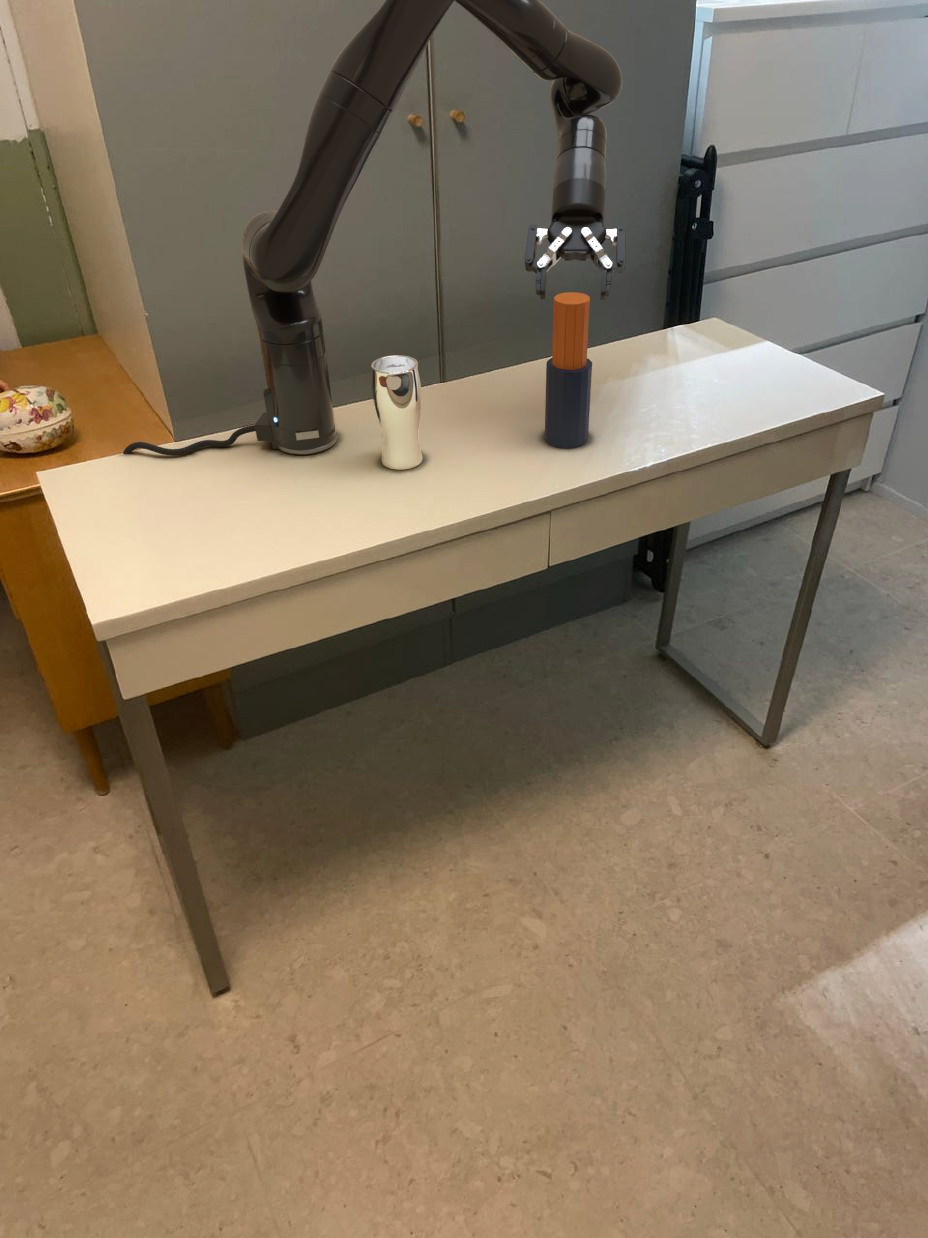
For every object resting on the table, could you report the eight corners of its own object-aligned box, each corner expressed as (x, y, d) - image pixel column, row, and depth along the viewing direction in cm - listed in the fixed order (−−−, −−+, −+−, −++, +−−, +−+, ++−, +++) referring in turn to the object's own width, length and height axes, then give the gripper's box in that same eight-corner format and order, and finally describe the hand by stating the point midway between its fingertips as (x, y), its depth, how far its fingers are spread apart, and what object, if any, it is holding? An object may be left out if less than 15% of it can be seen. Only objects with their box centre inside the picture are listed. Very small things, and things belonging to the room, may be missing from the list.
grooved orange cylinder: (551, 369, 134) (553, 303, 129) (553, 356, 138) (554, 291, 133) (586, 370, 134) (589, 304, 128) (587, 356, 138) (590, 292, 132)
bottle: (543, 447, 141) (546, 341, 131) (546, 428, 146) (548, 324, 136) (587, 448, 140) (593, 341, 130) (588, 429, 146) (594, 325, 136)
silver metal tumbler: (419, 473, 136) (412, 374, 127) (373, 469, 137) (363, 372, 128) (430, 451, 141) (424, 355, 132) (385, 448, 142) (377, 353, 133)
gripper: (528, 175, 132) (521, 283, 130) (630, 175, 130) (624, 285, 128) (531, 205, 139) (524, 308, 137) (627, 206, 137) (622, 310, 135)
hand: (572, 297), depth 133 cm, fingers open, 8 cm apart
